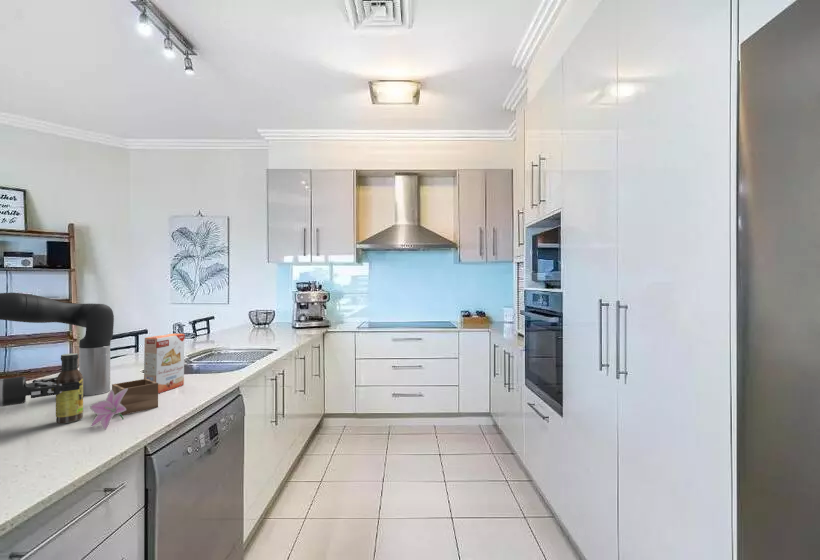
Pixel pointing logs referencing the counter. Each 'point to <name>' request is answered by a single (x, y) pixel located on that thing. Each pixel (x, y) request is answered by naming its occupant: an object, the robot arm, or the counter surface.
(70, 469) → the counter surface
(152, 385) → the bottle holder
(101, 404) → the lily
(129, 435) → the counter surface
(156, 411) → the counter surface
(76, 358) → the sauce bottle
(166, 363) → the cracker box
